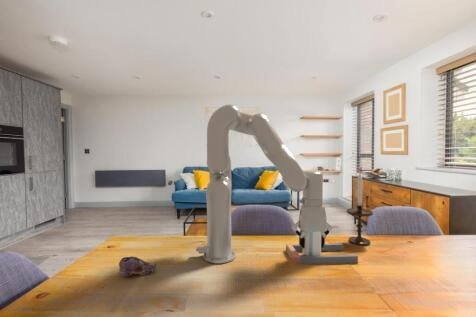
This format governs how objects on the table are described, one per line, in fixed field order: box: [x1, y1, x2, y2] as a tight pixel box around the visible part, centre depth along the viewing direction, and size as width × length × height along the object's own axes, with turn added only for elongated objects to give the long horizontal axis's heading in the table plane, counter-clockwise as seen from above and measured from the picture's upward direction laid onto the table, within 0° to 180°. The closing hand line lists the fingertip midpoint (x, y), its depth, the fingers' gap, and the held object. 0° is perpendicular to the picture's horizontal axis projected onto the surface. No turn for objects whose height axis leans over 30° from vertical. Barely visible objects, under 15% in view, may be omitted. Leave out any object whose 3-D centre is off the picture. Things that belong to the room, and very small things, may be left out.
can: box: [302, 227, 322, 256], centre depth 99 cm, size 7×7×12 cm
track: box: [285, 242, 359, 266], centre depth 99 cm, size 24×13×3 cm, turn 93°
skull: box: [118, 256, 157, 277], centre depth 85 cm, size 12×8×6 cm, turn 95°
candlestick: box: [346, 166, 374, 247], centre depth 114 cm, size 11×11×35 cm
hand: (311, 246), depth 99 cm, fingers closed on can, 7 cm apart
